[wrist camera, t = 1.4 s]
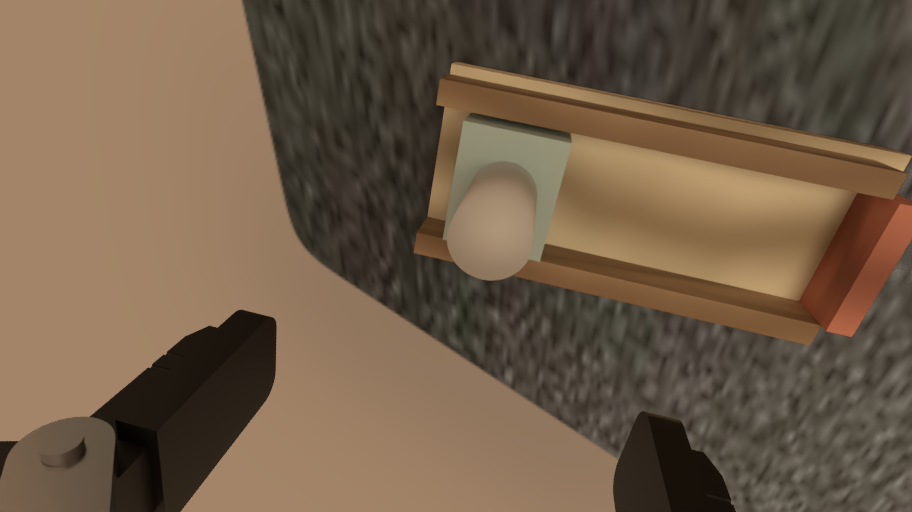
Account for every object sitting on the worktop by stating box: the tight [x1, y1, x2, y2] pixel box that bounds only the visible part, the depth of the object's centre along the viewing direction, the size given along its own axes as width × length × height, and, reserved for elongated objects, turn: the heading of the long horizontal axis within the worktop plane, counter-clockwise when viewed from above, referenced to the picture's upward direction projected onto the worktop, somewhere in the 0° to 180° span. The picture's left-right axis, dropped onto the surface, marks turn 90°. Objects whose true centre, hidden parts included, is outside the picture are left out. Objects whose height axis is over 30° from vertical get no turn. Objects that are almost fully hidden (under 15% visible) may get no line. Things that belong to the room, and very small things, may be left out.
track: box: [414, 62, 912, 345], centre depth 26 cm, size 10×22×4 cm, turn 80°
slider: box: [443, 112, 572, 280], centre depth 23 cm, size 6×5×9 cm
